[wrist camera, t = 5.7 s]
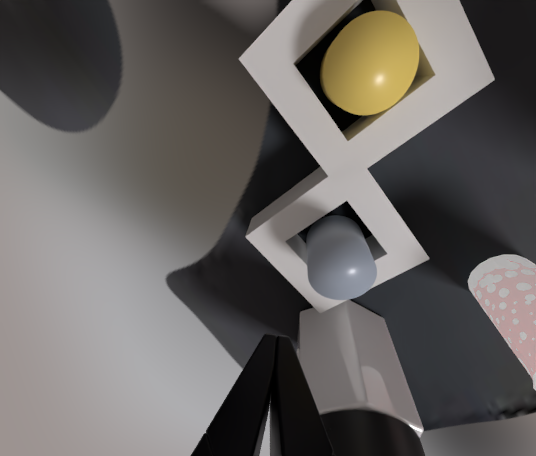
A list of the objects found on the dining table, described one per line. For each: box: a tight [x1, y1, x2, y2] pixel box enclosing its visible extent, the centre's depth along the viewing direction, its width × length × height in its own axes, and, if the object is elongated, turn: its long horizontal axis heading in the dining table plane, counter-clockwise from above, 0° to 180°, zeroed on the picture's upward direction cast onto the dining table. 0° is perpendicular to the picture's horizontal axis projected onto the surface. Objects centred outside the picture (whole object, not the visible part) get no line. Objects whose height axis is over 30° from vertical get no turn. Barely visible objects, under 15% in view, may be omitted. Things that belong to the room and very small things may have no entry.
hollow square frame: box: [239, 0, 495, 176], centre depth 15 cm, size 9×9×3 cm
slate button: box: [306, 215, 377, 300], centre depth 18 cm, size 4×4×4 cm
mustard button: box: [320, 10, 419, 115], centre depth 14 cm, size 4×4×4 cm
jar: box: [297, 299, 425, 456], centre depth 21 cm, size 9×8×12 cm
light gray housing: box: [245, 155, 430, 313], centre depth 20 cm, size 9×9×3 cm
